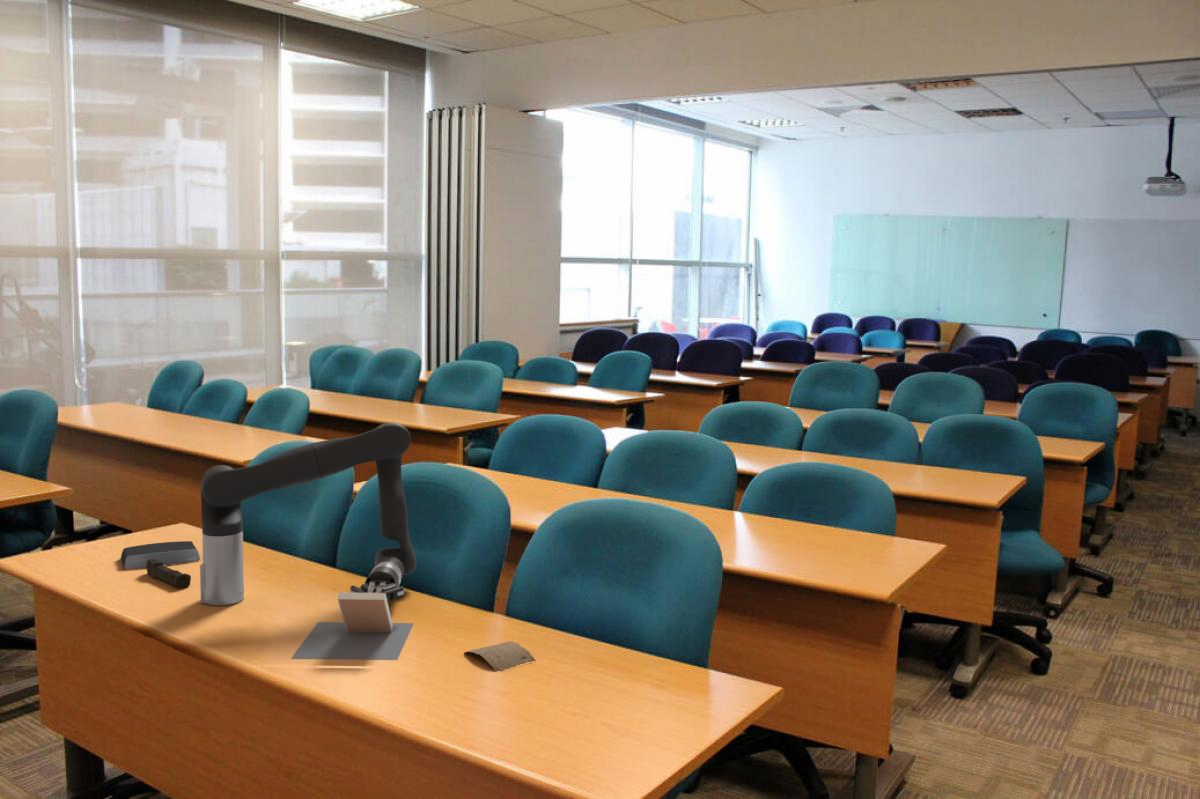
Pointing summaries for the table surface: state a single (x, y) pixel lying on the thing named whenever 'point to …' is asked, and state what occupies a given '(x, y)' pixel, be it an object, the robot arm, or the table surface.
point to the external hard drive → (159, 554)
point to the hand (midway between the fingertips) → (369, 604)
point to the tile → (365, 612)
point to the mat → (352, 643)
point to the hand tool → (167, 574)
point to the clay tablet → (504, 655)
